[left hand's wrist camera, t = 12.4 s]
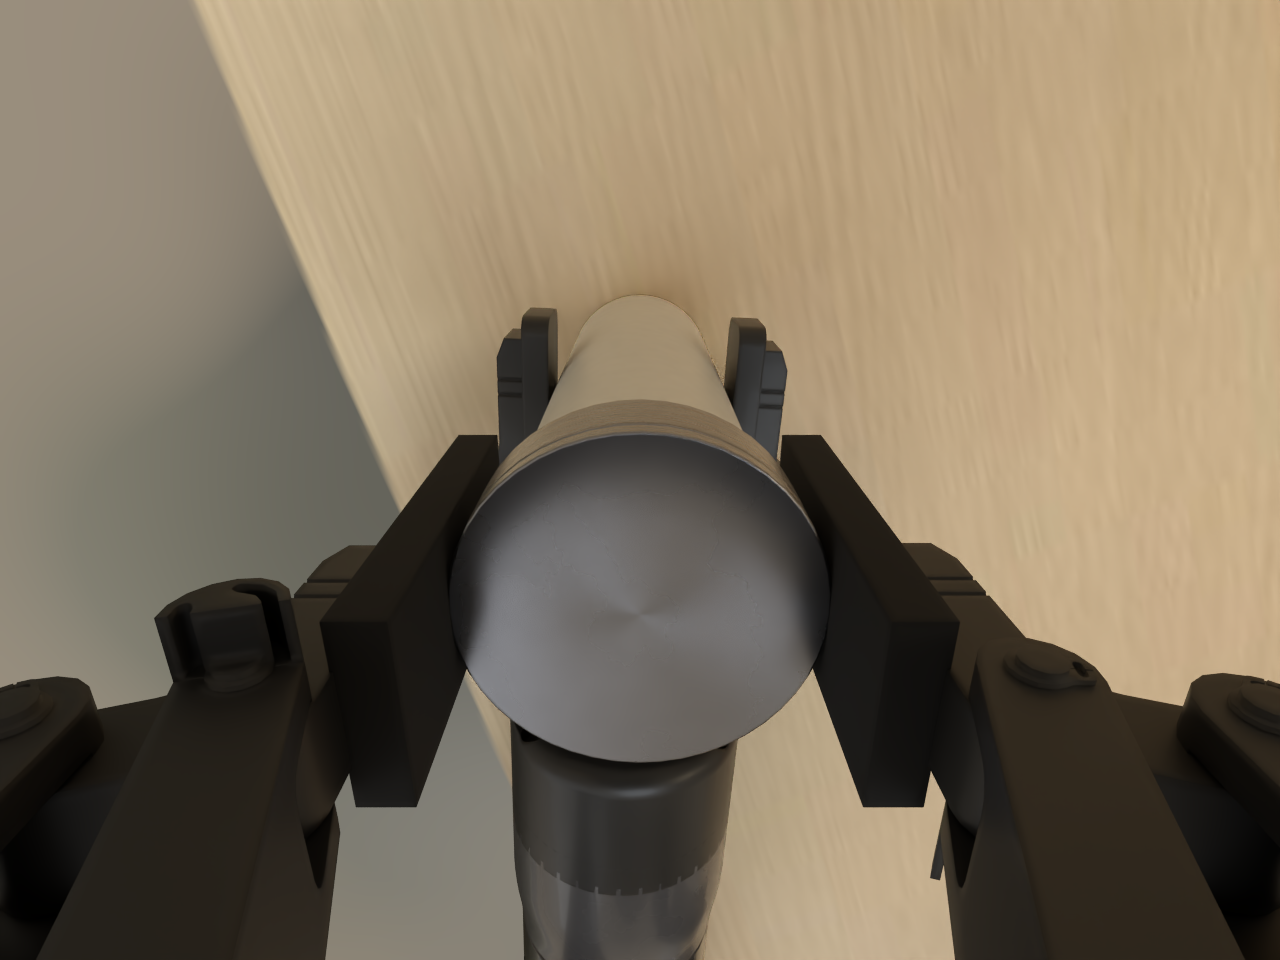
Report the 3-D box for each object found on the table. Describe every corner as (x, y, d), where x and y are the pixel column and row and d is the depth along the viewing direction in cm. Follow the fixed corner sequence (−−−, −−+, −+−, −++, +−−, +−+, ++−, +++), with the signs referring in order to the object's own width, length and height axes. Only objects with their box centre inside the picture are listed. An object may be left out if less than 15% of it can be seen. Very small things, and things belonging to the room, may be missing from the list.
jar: (571, 293, 25) (468, 446, 10) (709, 295, 25) (814, 450, 10) (574, 425, 27) (491, 724, 12) (703, 427, 27) (784, 726, 12)
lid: (458, 395, 11) (428, 429, 9) (825, 399, 11) (855, 433, 9) (484, 694, 13) (462, 762, 11) (791, 696, 13) (811, 765, 11)
